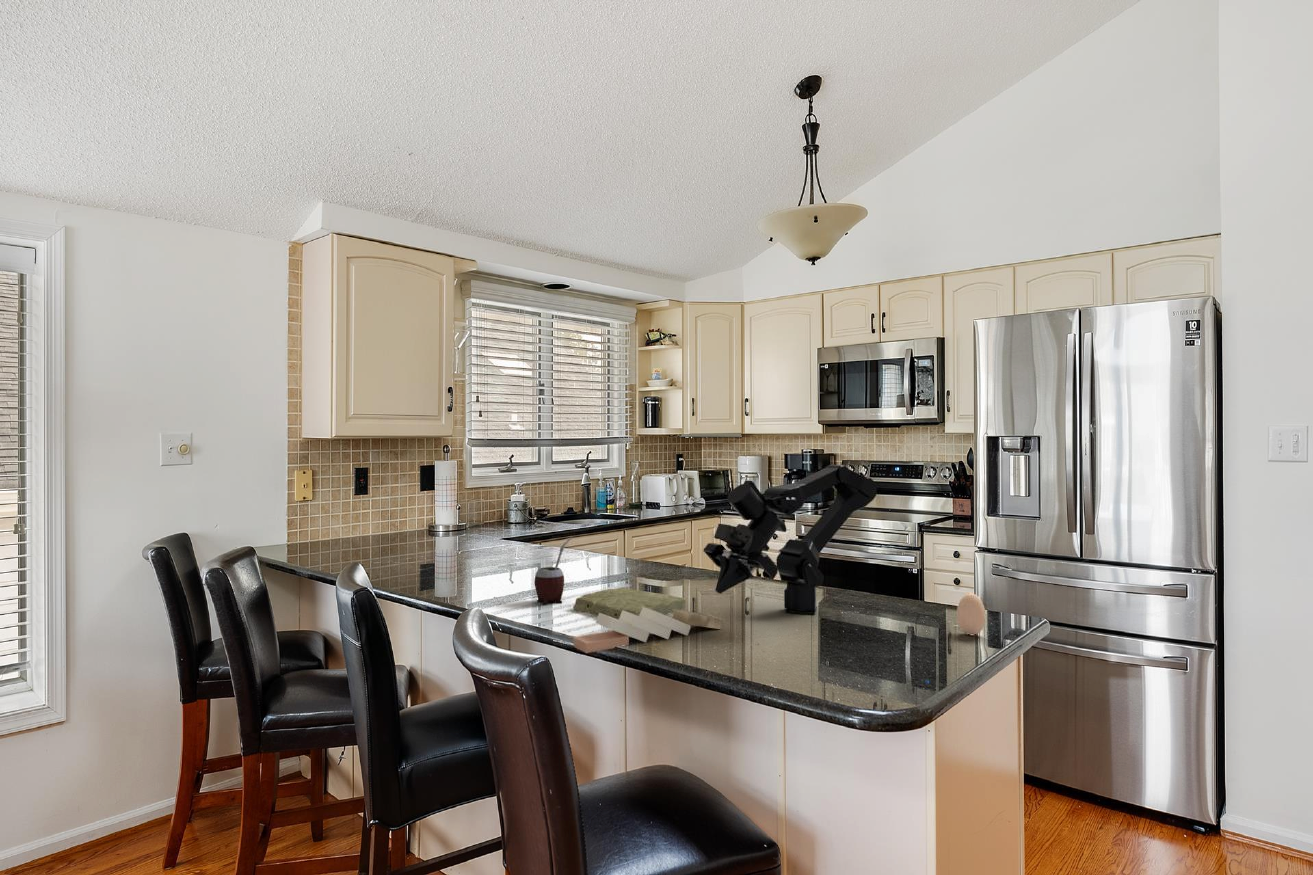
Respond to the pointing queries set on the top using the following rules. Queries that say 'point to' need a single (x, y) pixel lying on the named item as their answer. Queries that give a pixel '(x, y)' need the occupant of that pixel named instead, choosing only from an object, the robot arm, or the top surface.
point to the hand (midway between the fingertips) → (717, 591)
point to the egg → (971, 614)
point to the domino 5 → (697, 619)
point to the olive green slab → (627, 602)
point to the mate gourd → (550, 582)
